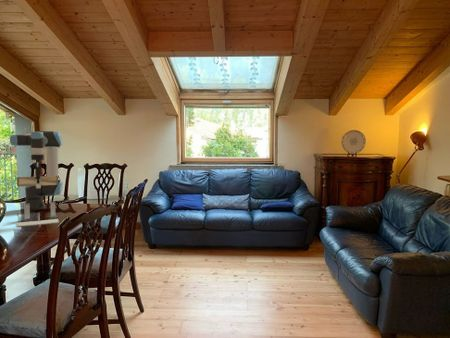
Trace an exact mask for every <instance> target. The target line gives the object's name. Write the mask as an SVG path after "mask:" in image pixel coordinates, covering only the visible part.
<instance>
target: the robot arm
mask: <svg viewBox="0 0 450 338" xmlns="http://www.w3.org/2000/svg"><path fill="white" fill-rule="evenodd" d="M9 143H10V145H11V146H20V147H21V146H26V147H28V146H29V147H30V149H29V151H30V154H31V155H30V157H31V161H35V162H34V163H33V164H34V165H33V166H34V169H35V177H36V178H35V179H36V186H24V187H25V190H24V191H25V202H24V204H23V206H24V205H25V204H27V203H30V212H31V211H41V210H45V208H46V205H45V202H44V200H43V197H55V196H60V195H61V194H62V192H63V184H64V183H63V182H62V181H61V179H60V177H59V150H60V148H61V146H63V138H62V134H61V132H59V131H56V130H55V131H54V130H49V131H48V130H46V131H45V130H44V131H43V130H38V131H30V132H28V133H26V134H11V135H10V136H9ZM44 149H45V150H46V155H44V153H45V150H44ZM45 157H46V158H45ZM45 159H46V176H58V185H41V182H40V176H41V170H42V169H41V168H42V162H41V161H42V160H43V161H44V160H45Z"/></svg>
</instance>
